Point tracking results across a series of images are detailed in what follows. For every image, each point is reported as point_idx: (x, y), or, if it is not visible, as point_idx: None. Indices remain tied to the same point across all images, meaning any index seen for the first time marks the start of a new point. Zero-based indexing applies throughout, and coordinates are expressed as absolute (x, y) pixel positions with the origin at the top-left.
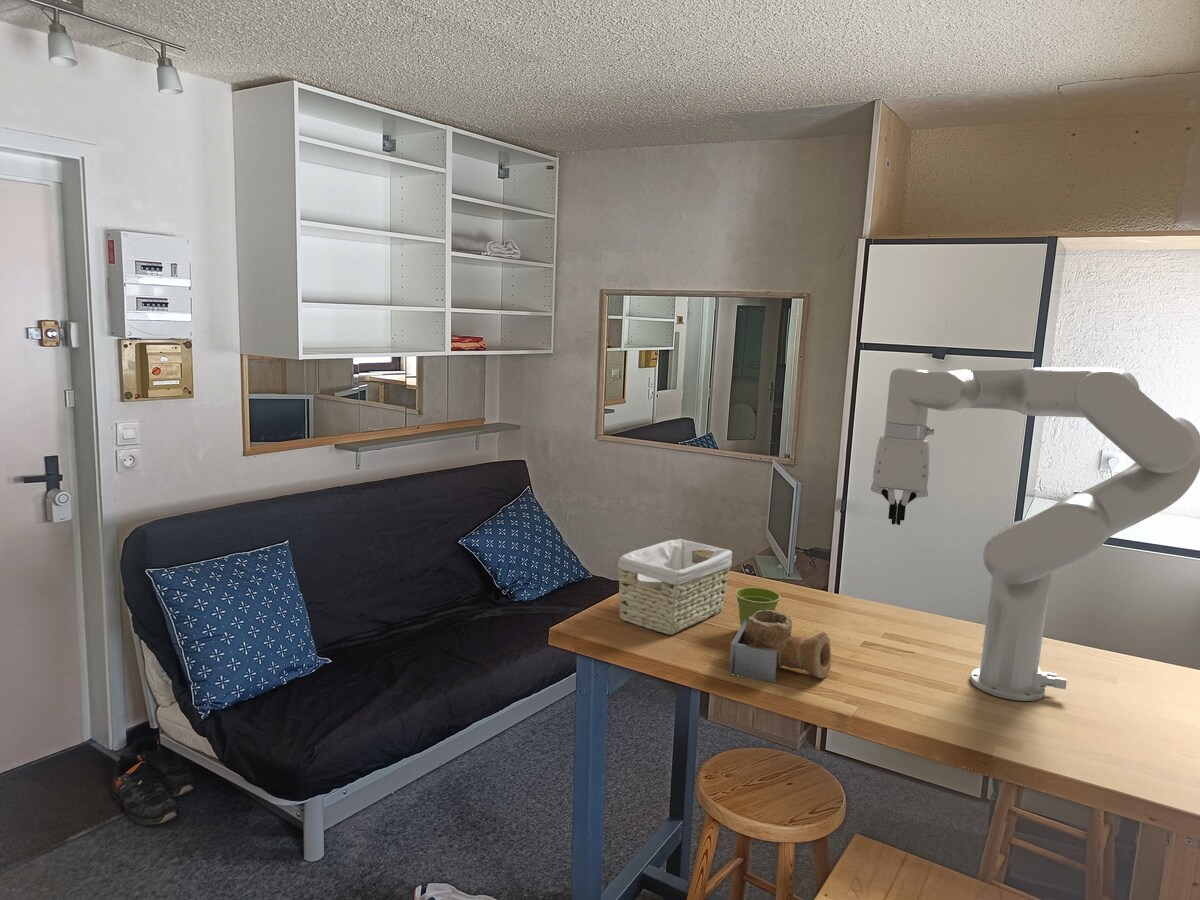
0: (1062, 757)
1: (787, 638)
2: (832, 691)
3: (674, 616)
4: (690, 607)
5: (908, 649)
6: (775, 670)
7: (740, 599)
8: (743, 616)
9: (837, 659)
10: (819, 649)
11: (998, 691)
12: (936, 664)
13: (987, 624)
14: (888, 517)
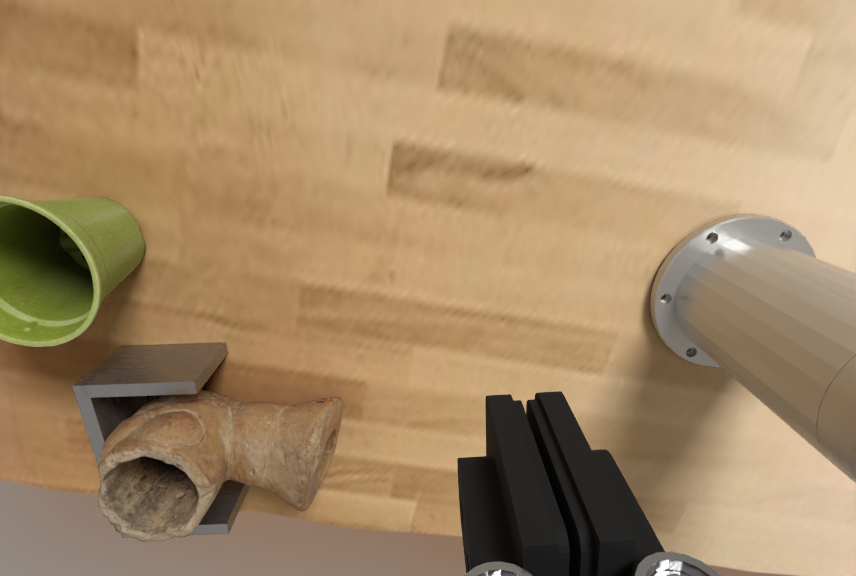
0: (735, 525)
1: (226, 476)
2: (364, 466)
3: None
4: None
5: (517, 153)
6: (243, 499)
7: None
8: (44, 293)
9: (346, 311)
10: (312, 500)
11: (697, 364)
12: (582, 228)
13: (766, 386)
14: (460, 514)
